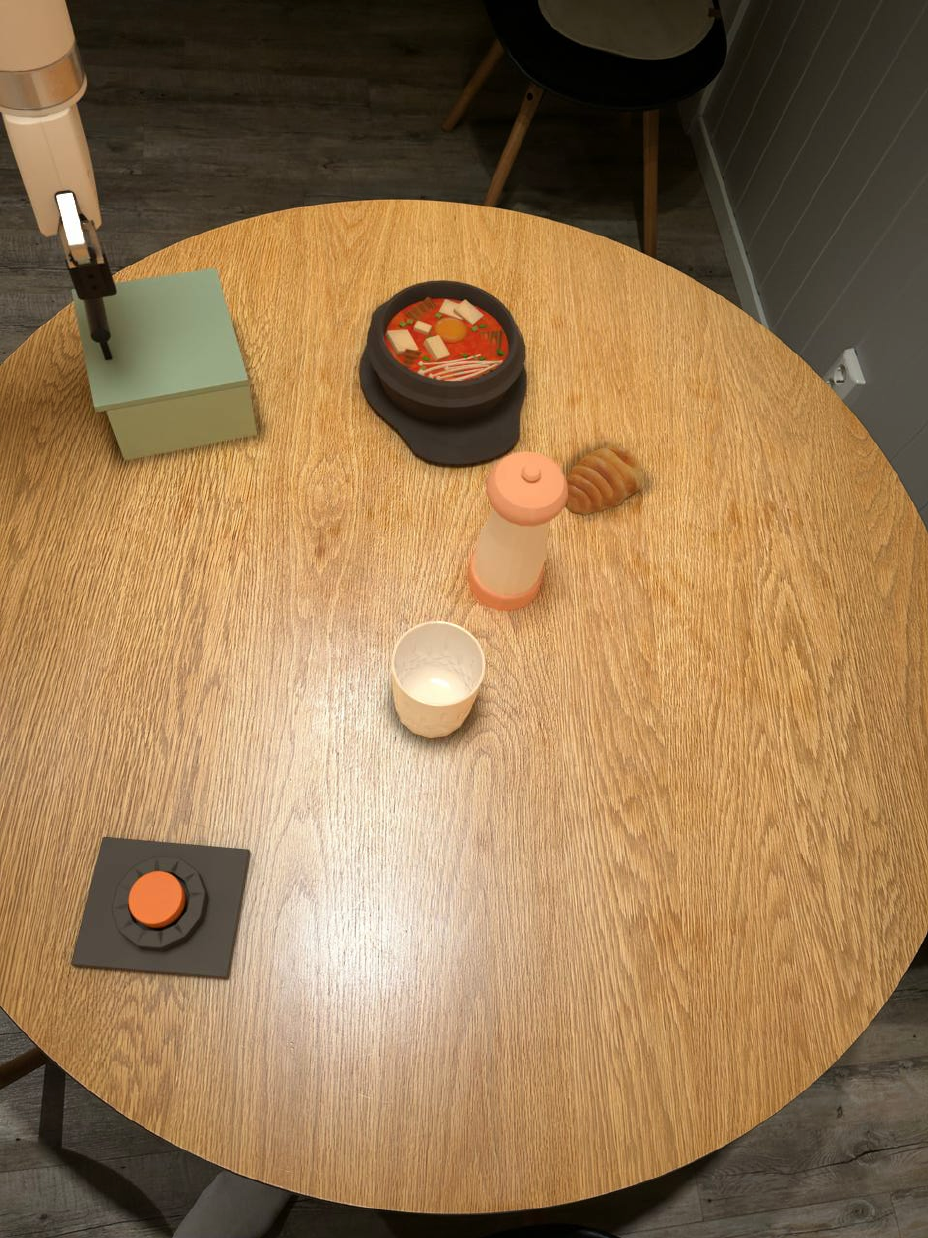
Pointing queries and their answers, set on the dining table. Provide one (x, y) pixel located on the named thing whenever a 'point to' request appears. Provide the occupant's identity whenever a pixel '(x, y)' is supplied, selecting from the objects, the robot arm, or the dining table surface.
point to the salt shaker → (516, 530)
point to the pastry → (603, 480)
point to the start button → (157, 899)
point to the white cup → (436, 677)
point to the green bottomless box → (183, 422)
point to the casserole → (446, 371)
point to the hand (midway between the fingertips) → (90, 255)
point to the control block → (183, 945)
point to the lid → (159, 340)
